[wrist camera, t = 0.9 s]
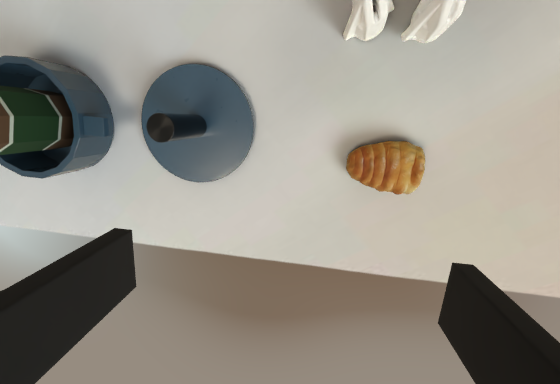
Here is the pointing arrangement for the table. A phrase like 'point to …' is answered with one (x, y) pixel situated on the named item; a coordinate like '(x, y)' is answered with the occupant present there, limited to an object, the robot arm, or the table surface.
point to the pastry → (388, 166)
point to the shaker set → (424, 23)
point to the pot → (85, 113)
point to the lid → (197, 123)
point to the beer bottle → (33, 120)
